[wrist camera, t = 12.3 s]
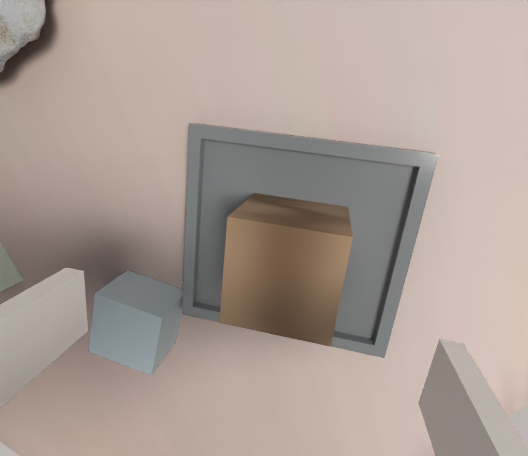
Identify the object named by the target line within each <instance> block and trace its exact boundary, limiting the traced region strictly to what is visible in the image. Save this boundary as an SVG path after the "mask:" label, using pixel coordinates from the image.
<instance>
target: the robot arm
mask: <svg viewBox="0 0 528 456" xmlns="http://www.w3.org/2000/svg"><path fill="white" fill-rule="evenodd" d="M86 332H88V324H87V310H86V296H85V281H84V271H82V270H77V269H71V268H64V269H62V270H61V271H59V272H57V273H55V274H53V275H52V276H50V277H48V278H46V279H45V280H43V281H41V282H39V283H37V284H36V285H34V286H32V287H30V288H29V289H27V290H25V291H23V292H21V293H20V294H18V295H16V296H14V297H13V298H11V299H9V300H7V301H6V302H4V303H2V304H0V408H1V407H2V406H3V405H5V404H6V403H7V402H8V401H9V400H10V399H11V398H13V397H14V396H15V395H16V394H17V393H18V392H19V391H21V390H22V389H23V388H24V387H25V386H26V385H27V384H28V383H30V382H31V381H32V380H33V379H34V378H35V377H36V376H38V375H39V374H40V373H41V372H42V371H43V370H44V369H45V368H47V367H48V366H49V365H50V364H51V363H52V362H53V361H55V360H56V359H57V358H58V357H59V356H60V355H61V354H63V353H64V352H65V351H66V350H67V349H68V348H69V347H70V346H72V345H73V344H74V343H75V342H76V341H77V340H78V339H80V338H81V337H82V336H83V335H84V334H85V333H86ZM419 406H420V409H421V412H422V415H423V418H424V421H425V424H426V427H427V430H428V434H429V437H430V440H431V443H432V446H433V449H434V452H435V455H436V456H528V448H527V447H526V445H525V443H524V442H523V440H522V438H521V437H520V435H519V434H518V432H517V431H516V429H515V427H514V425H513V424H512V422H511V420H510V419H509V417H508V415H507V414H506V412H505V411H504V409H503V407H502V406H501V404H500V402H499V401H498V399H497V397H496V396H495V394H494V393H493V391H492V389H491V388H490V386H489V384H488V383H487V381H486V379H485V378H484V376H483V375H482V373H481V371H480V370H479V368H478V366H477V365H476V363H475V361H474V360H473V358H472V356H471V355H470V353H469V352H468V350H467V348H466V347H465V345H464V344H463V343H458V342H452V341H447V340H442V339H439V342H438V345H437V348H436V351H435V354H434V357H433V360H432V363H431V367H430V370H429V373H428V376H427V379H426V382H425V385H424V388H423V391H422V394H421V397H420V400H419Z"/></svg>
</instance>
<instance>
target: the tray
mask: <svg viewBox="0 0 528 456" xmlns="http://www.w3.org/2000/svg"><path fill="white" fill-rule="evenodd" d="M438 155H439V154H436V153H432V152H424V151H416V150H408V149H400V148H392V147H383V146H375V145H367V144H359V143H351V142H343V141H335V140H327V139H318V138H310V137H302V136H294V135H286V134H278V133H270V132H262V131H253V130H245V129H237V128H229V127H221V126H213V125H205V124H190V123H189V140H188V167H187V193H186V219H185V246H184V272H183V298H182V314H184V315H189V316H193V317H198V318H203V319H207V320H212V321H216V322H219V320H220V307H221V294H222V281H223V268H224V255H225V242H226V229H227V217H228V216H229V215H230V214H231V213H232V212H233V211H235V210H236V209H237V208H238V207H239V206H240V205H242V204H243V203H244V202H245V201H246V200H247V199H249V198H250V197H251V196H252V195H253V194H254V193H258V194H265V195H272V196H278V197H285V198H292V199H298V200H305V201H312V202H318V203H325V204H332V205H338V206H345V207H348V209H349V215H350V222H351V228H352V235H353V239H352V244H351V249H350V254H349V259H348V264H347V269H346V274H345V279H344V284H343V289H342V294H341V299H340V303H339V308H338V313H337V318H336V323H335V328H334V333H333V338H332V343H331V346H332V347H336V348H341V349H346V350H350V351H355V352H359V353H364V354H369V355H373V356H378V357H382V358H384V357H385V353H386V350H387V346H388V342H389V338H390V335H391V331H392V327H393V323H394V320H395V316H396V312H397V308H398V305H399V301H400V297H401V294H402V290H403V286H404V282H405V279H406V275H407V271H408V267H409V264H410V260H411V256H412V252H413V249H414V245H415V241H416V237H417V234H418V230H419V226H420V222H421V219H422V215H423V211H424V208H425V204H426V200H427V196H428V193H429V189H430V185H431V181H432V178H433V174H434V170H435V166H436V163H437V159H438Z"/></svg>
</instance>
